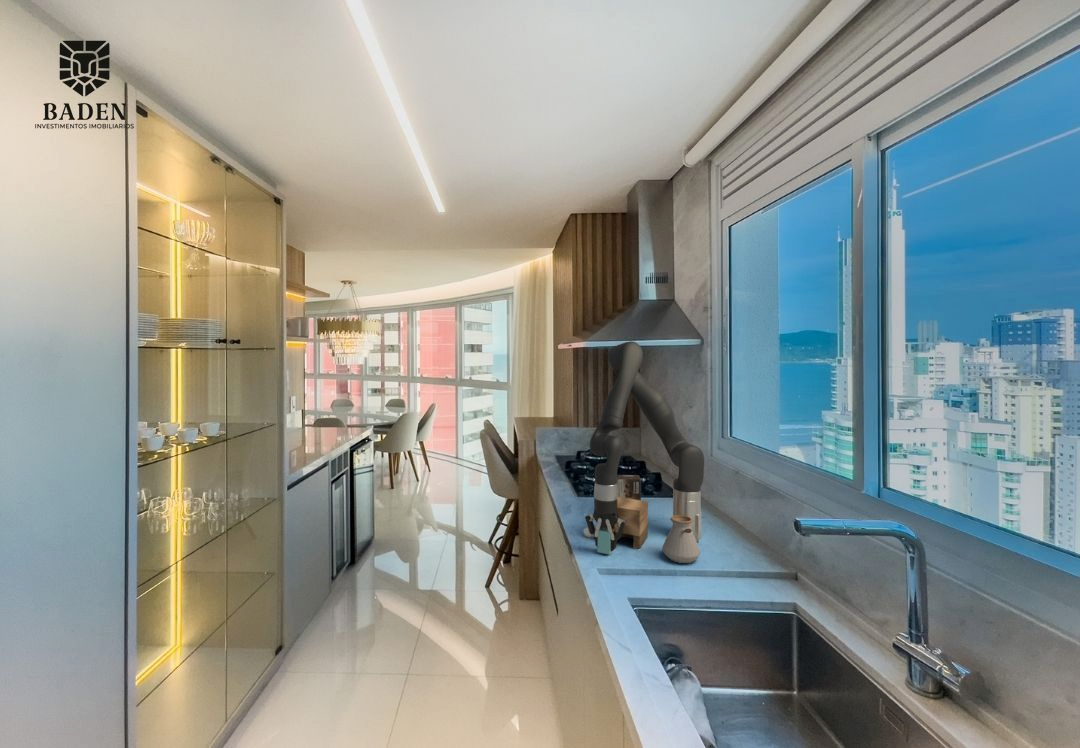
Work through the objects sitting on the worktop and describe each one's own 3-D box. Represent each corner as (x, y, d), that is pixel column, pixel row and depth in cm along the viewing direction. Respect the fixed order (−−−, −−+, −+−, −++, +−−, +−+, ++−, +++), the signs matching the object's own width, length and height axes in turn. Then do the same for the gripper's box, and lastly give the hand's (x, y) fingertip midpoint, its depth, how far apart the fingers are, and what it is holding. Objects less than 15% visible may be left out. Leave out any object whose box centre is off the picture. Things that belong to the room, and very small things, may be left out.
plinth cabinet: (647, 537, 160) (647, 501, 159) (639, 549, 150) (639, 510, 150) (609, 530, 166) (609, 495, 166) (599, 541, 156) (599, 504, 156)
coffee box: (639, 514, 184) (639, 474, 183) (641, 519, 178) (641, 479, 177) (616, 513, 185) (616, 474, 184) (617, 519, 179) (618, 478, 178)
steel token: (599, 535, 163) (599, 528, 163) (594, 539, 159) (594, 533, 158) (586, 532, 165) (586, 525, 165) (581, 537, 161) (581, 530, 161)
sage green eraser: (624, 536, 159) (624, 516, 159) (609, 554, 144) (609, 532, 144) (613, 534, 161) (613, 514, 161) (597, 552, 146) (597, 530, 146)
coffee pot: (660, 549, 150) (660, 504, 150) (696, 552, 148) (697, 506, 148) (668, 581, 129) (669, 529, 129) (711, 584, 127) (712, 531, 127)
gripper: (630, 496, 147) (630, 548, 147) (589, 490, 153) (589, 540, 154) (623, 503, 140) (623, 557, 141) (580, 496, 146) (580, 548, 147)
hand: (605, 548), depth 147 cm, fingers closed on sage green eraser, 4 cm apart
